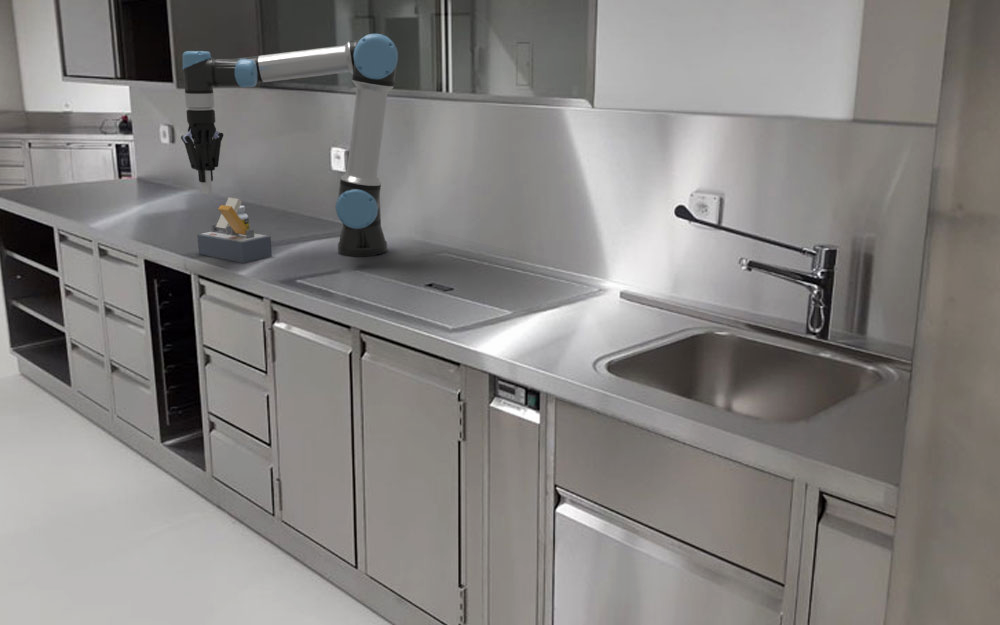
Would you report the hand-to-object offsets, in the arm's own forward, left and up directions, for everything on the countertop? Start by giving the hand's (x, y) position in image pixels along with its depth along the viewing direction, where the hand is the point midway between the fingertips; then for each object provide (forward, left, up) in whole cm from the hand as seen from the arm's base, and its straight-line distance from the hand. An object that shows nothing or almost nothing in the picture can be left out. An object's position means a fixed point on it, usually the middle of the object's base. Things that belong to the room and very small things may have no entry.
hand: (207, 193), depth 263 cm
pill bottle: (+17, -24, -21) cm, 36 cm away
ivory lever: (+9, -11, -13) cm, 19 cm away
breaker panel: (+4, -11, -21) cm, 24 cm away
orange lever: (0, -11, -13) cm, 17 cm away
